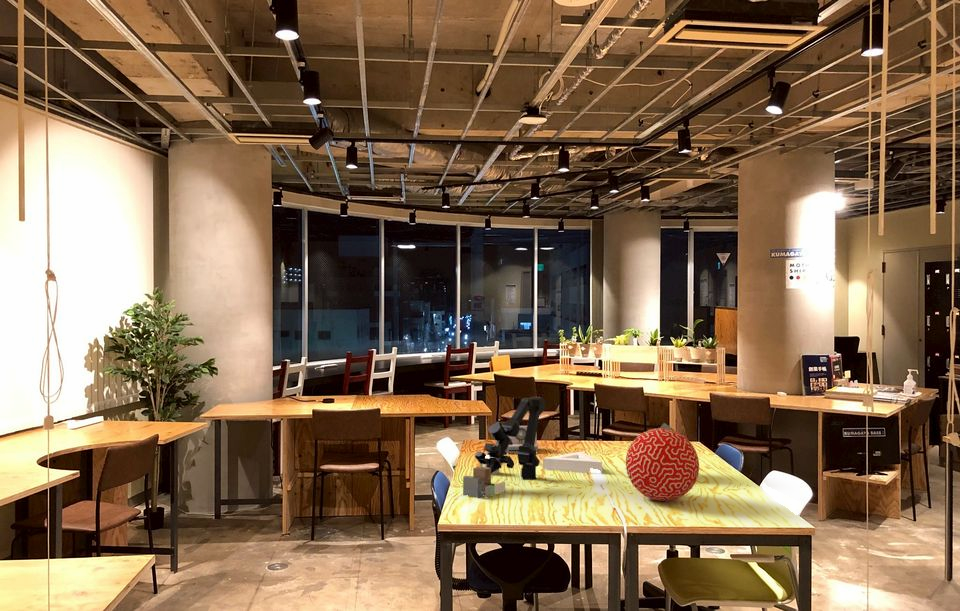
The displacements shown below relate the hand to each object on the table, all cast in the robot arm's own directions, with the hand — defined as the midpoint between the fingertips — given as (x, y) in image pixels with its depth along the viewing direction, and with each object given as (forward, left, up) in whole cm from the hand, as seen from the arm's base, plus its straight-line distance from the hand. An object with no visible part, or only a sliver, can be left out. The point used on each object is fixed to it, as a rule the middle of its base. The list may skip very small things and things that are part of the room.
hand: (486, 475), depth 316 cm
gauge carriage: (0, +4, -5) cm, 7 cm away
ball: (-74, +15, -7) cm, 76 cm away
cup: (-2, -38, -7) cm, 39 cm away
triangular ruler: (-48, -54, -8) cm, 72 cm away
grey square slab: (+6, +8, -7) cm, 12 cm away
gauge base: (0, +2, -7) cm, 7 cm away
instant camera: (-21, -99, -7) cm, 101 cm away
